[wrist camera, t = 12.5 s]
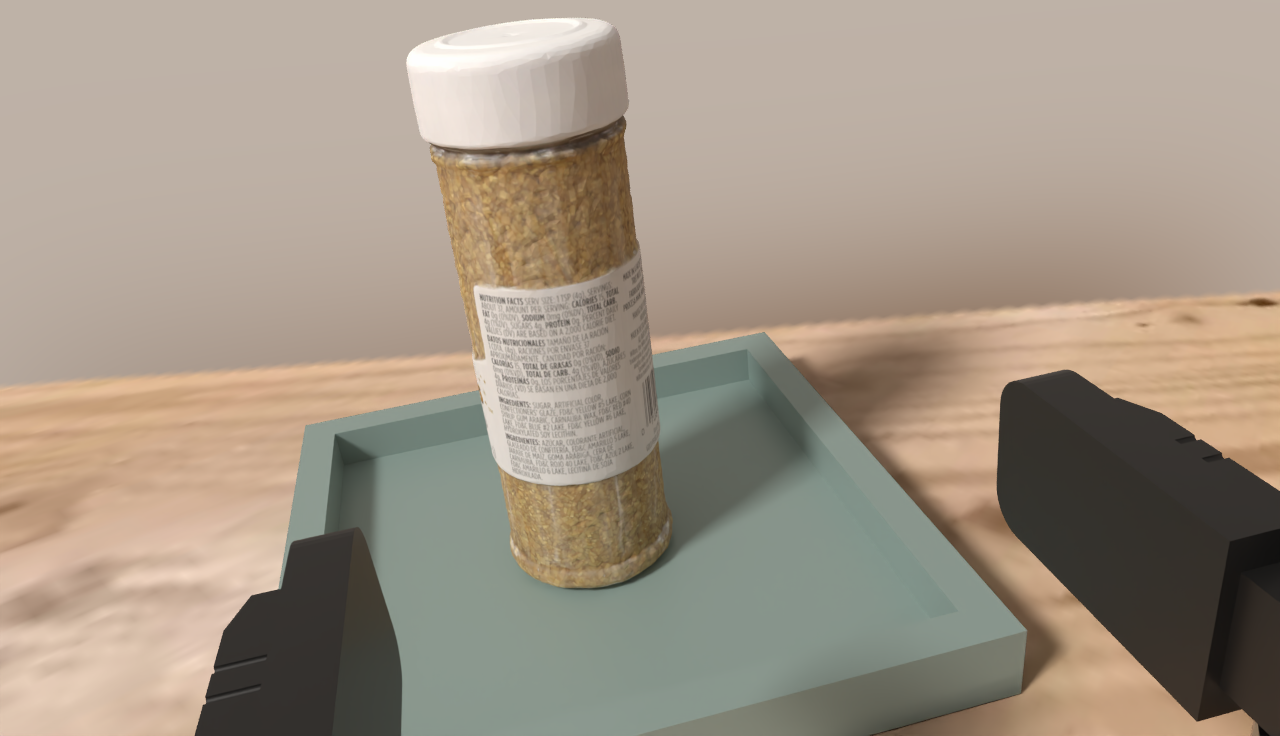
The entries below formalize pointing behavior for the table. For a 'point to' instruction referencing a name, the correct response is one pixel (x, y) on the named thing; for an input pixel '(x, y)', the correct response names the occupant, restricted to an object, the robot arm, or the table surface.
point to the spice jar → (551, 287)
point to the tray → (669, 574)
